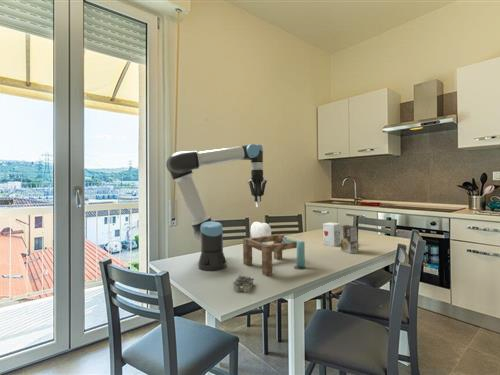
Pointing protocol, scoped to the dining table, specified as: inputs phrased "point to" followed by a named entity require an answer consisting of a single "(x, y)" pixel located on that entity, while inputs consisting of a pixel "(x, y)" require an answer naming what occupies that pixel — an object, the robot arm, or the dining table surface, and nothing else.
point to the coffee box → (349, 239)
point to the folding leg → (298, 251)
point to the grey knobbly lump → (243, 283)
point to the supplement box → (331, 234)
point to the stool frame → (266, 250)
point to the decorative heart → (259, 232)
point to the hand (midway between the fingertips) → (257, 206)
